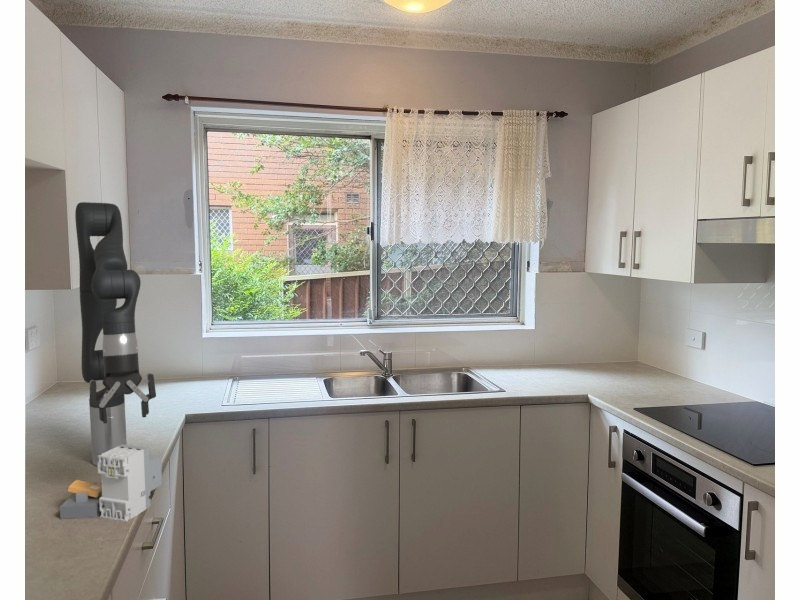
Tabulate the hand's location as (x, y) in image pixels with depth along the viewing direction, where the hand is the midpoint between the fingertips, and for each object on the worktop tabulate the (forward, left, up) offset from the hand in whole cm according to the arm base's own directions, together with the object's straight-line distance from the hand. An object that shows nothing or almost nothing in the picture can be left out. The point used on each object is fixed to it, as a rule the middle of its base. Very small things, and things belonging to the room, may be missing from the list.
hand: (124, 419), depth 137 cm
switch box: (-1, -10, -22) cm, 24 cm away
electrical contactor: (-1, +1, -22) cm, 22 cm away
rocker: (-1, -10, -18) cm, 21 cm away
